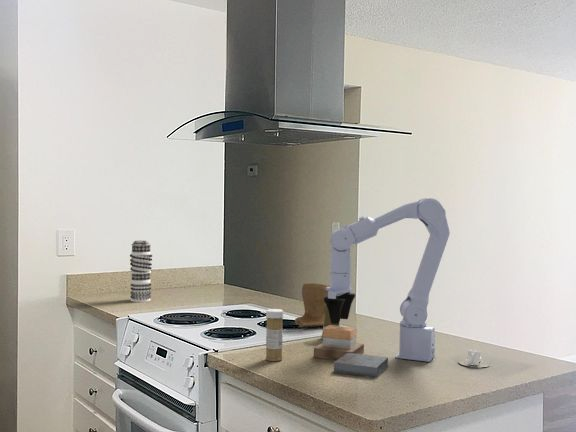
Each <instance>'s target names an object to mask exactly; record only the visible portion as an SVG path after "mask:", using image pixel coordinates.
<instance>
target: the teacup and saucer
mask: <svg viewBox="0 0 576 432" xmlns="http://www.w3.org/2000/svg"><path fill="white" fill-rule="evenodd" d="M467 352H468V353H467V359H466V360H468V361H469V362H468V363H469V365H470V364H473V365H477V364H478V365H480V363H479V362H480V361H482V360H483V359H482V357H481V350H479V349H474V348H473V349H472V348H471V349H468V351H467ZM473 365H472V366H473ZM478 365H477V366H478Z"/></svg>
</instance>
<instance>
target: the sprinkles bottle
mask: <svg viewBox="0 0 576 432" xmlns="http://www.w3.org/2000/svg"><path fill="white" fill-rule="evenodd" d="M265 317H266V333H265V335H266V336H265V347H266V348H265V349H266V351H265V352H266V353H265V355H266V356H265V360H267V361H269V362H281V361H282V360H283V337H284V336H283V335H284V334H283V333H284V331H283V330H284V329H283V318H284V310H283V309H279V308H269V309H266V312H265Z"/></svg>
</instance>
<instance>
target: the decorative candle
mask: <svg viewBox="0 0 576 432" xmlns="http://www.w3.org/2000/svg"><path fill="white" fill-rule="evenodd" d="M151 253H152V252H151V243H150V242H149V241H148V240H134V241H133V243H132V244H131V253H130V254H129V257H130V259H129V262H130V263H129V265H130V266H131V267H130V269H129V270H130V273H131V280H130V286H131V287H130V290H131V291H130V296H129V297H130V301H131V302H134V303H145V302H151V301H152V299H151V298H152V291H151V289H152V287H151V286H152V283H151V274H152V271H151V270H152V269H153V267H152V265H153V264H152V263H151V261H153V259H152V257H153V254H151Z"/></svg>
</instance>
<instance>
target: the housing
mask: <svg viewBox="0 0 576 432" xmlns="http://www.w3.org/2000/svg"><path fill="white" fill-rule="evenodd" d="M322 332H323V339H322V343H323V346H325V347H333V348H342V349H352V348H353V347H354V346H356V343H357V327H350V326H341V325H340V326H332V325H328V326H327V327H325V328H322Z"/></svg>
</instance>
